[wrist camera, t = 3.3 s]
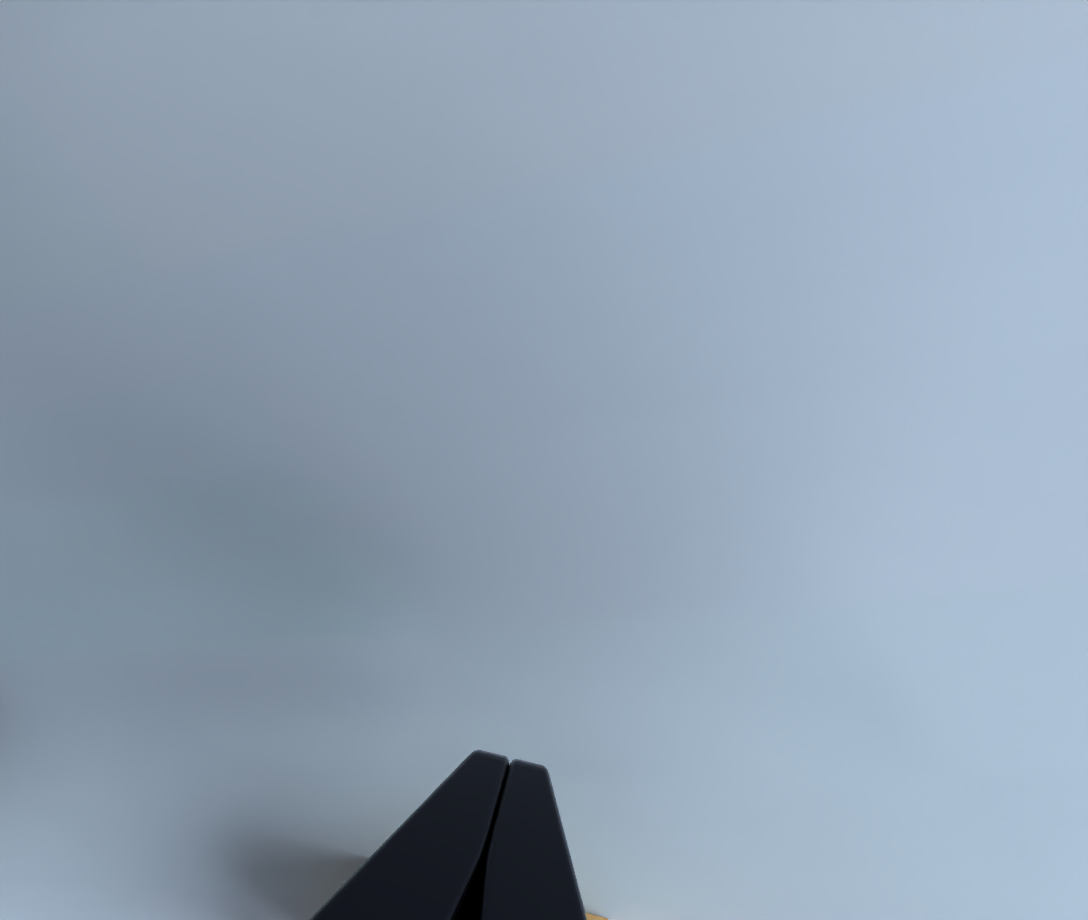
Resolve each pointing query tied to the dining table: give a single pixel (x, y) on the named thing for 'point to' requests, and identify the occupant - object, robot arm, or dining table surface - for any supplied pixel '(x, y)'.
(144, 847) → the dining table surface
